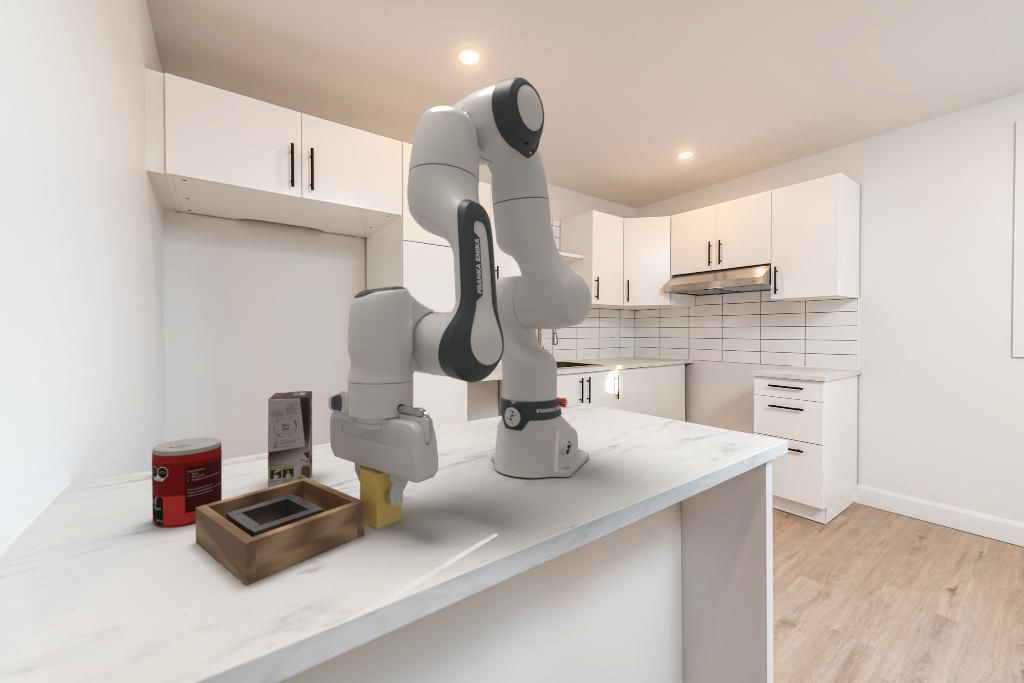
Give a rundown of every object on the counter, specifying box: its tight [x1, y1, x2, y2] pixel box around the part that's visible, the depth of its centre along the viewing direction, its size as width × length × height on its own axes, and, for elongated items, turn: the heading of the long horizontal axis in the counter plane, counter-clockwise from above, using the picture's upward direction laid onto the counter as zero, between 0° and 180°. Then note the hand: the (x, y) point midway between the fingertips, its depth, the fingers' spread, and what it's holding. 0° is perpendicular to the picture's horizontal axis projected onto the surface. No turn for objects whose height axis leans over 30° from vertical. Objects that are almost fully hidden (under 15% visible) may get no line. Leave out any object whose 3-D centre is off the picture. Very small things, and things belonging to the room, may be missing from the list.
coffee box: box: [267, 390, 313, 488], centre depth 75 cm, size 9×6×16 cm
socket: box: [226, 494, 323, 537], centre depth 53 cm, size 8×8×4 cm
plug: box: [359, 467, 402, 530], centre depth 59 cm, size 4×4×8 cm
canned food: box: [151, 437, 223, 529], centre depth 60 cm, size 8×8×11 cm
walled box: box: [195, 477, 365, 587], centre depth 54 cm, size 14×15×5 cm
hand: (380, 498), depth 59 cm, fingers open, 5 cm apart
